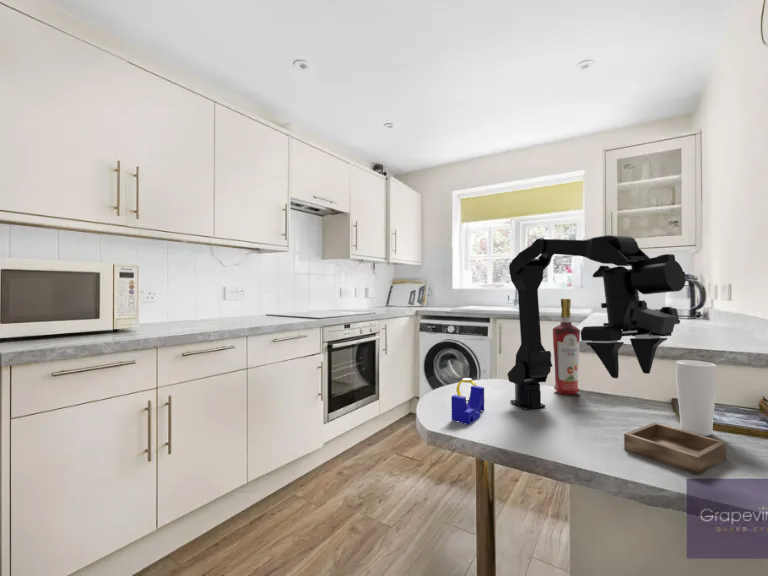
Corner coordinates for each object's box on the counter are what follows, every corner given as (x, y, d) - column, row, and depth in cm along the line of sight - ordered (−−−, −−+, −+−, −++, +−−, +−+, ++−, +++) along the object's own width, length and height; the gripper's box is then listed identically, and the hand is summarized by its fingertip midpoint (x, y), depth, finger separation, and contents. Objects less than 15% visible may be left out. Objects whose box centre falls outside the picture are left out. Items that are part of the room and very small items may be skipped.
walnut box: (624, 448, 71) (624, 433, 71) (654, 436, 77) (654, 422, 77) (697, 475, 61) (697, 457, 61) (726, 458, 67) (726, 442, 67)
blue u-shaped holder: (469, 425, 85) (468, 399, 85) (451, 421, 88) (451, 396, 87) (489, 411, 94) (489, 388, 94) (473, 408, 97) (473, 385, 97)
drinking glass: (724, 440, 75) (723, 367, 75) (684, 436, 77) (683, 365, 77) (707, 428, 81) (706, 360, 81) (670, 424, 84) (670, 359, 84)
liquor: (574, 389, 112) (574, 298, 112) (584, 397, 105) (584, 299, 105) (549, 389, 113) (548, 298, 113) (557, 396, 106) (557, 299, 106)
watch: (456, 400, 104) (454, 379, 104) (459, 397, 106) (458, 377, 106) (476, 402, 101) (475, 380, 101) (479, 399, 103) (478, 378, 103)
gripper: (629, 293, 63) (641, 386, 61) (696, 292, 70) (707, 375, 68) (574, 299, 73) (583, 378, 72) (637, 297, 80) (646, 369, 79)
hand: (631, 375), depth 72 cm, fingers open, 9 cm apart
